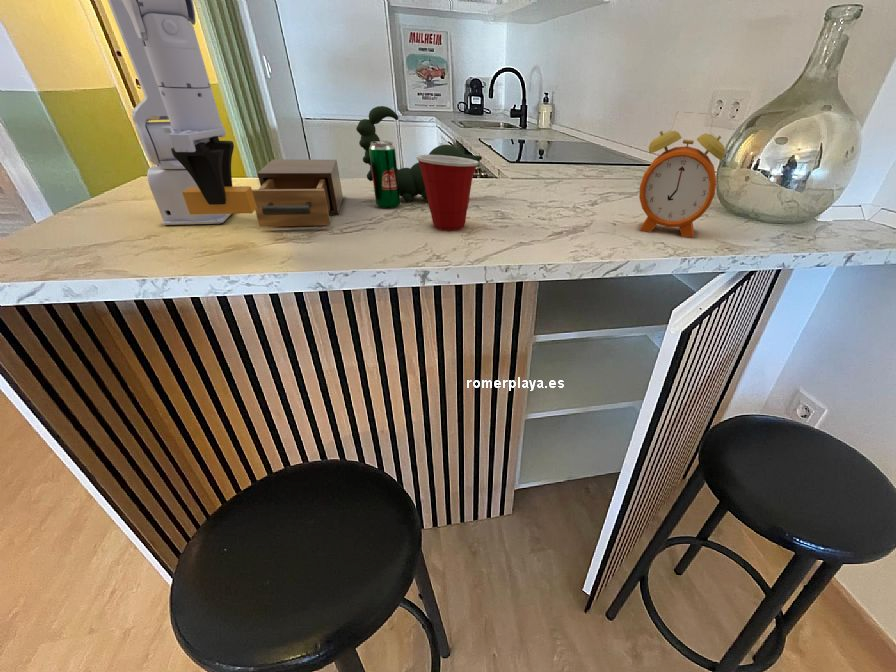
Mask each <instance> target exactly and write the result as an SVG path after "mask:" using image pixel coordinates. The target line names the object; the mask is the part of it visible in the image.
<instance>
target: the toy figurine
mask: <svg viewBox="0 0 896 672" xmlns="http://www.w3.org/2000/svg"><path fill="white" fill-rule="evenodd" d="M385 118H392V119H394V120H396V121H398V120H399V116H398V114H397V112H396V111H395V110H393V109H392V108H391V107H388V106H384V105H379V106H375V107H373V108H372V109H371V110H370V111H369V112H368V119H367V118H363V119H361V120H360V121H359V122H358V123H357V126H356V128H355V130H356V132H357V133H358V134H359V136H360V140H359V141H358V143H359V146H360V148H363V150H364V156H363V157H362V162H363V163H364V164H365V165H367V164H368V166H369V170H368V172H367V174H366V178H367V180H368V181H369V182H373V177H372V169H371V162H370V154H369V147H370V145H371V144H370V142H372V141H381V138H380V137H379V135H378V134H377V131H376V126H375V125H377V124H380V123H381V122H382V120H384V119H385ZM428 155H444V156H454V157H462V158H468V159H472V160H476V161H478V162H480V161H482V159H483V156H482V155H473V154H465V153H464V152H463V151H462V150H461V149H460V148H458V147H456V146H455V145H452V144H441V145H438V146H436V147H435V148H433V149H432V150H430V151H429V153H428ZM397 173H398V183H399V193H400V198H402V200H403V201H404V202H405V203H411V202H412V200H413V198H415V197H417V196H418V195H420V196H421V198H422V199H423V200H424V201H428V199H427V194H426V189H425V185H424V180H423V176H422V172H421V169H420V164H419V161H418V162H416V163H414V164H413V165H412V166H411V167H401V168H397Z"/></svg>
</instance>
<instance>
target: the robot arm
mask: <svg viewBox="0 0 896 672" xmlns="http://www.w3.org/2000/svg"><path fill="white" fill-rule="evenodd" d="M107 2H108V5H109V8H110V11H111V13H112V16H113V18H114V21H115V23H116V26H117V28H118V31H119V34H120V36H121V39H122V41H123V44H124V46H125V49H126V51H127V54H128V56H129V59H130V62H131V65H132V67H133V69H134V72H135V74H136V78H137V80H138V83H139V85H140V87H141V90H142V93H143V95H144V98H143V99H142V100H141V101H140V102H139V103H138V104H137V105H136V106H135V107H134V108H133V109H132V114H131V117H132V121H133V123H134V126H135V129H136V133H137V136H138V138H139V142H140V144H141V146H142V148H143V151H144V154H145V155H146V158H147V160H148V161H149V162H150V163H152V164H153V166H150V167H149V168H148V169H147V171H146V172H147V173H146V174H147V182H148V186H149V188H150V191H151V194H152V196H153V198H154V201H155V204H156V206H157V208H158V211H159V213H160V216H161V219H162V221H161V224H162V225H164V226H171V225H173V226H174V225H175V226H179V225H215V224H216V225H217V224H218V225H219V224H223V223H224V222H225V221H227V219H229V217H230V216H231V215H232V214H190V213H189V210H188V207H187V205H186V202H185V199H184V196H183V194H182V192H183V191H184V190H186V189H187V188H189V187H198V188H199V189H200V191H201V193H202V194H203V196H204V198H205V199H206V201H207V202H208V204H209V205H218V204H226V194H225V188H224V187H233V177H232V160H233V159H232V158H233V153H234V148H235V144H234V141H232V140H220V138H225V137H226V134H227V132H226V128H225V126H224V125H223V122H222V120H221V117H220V113H219V109H218V107H217V103H216V99H215V96H214V93H213V89H212V85H211V82H210V79H209V75H208V72H207V69H206V65H205V62H204V57H203V54H202V52H201V48H200V44H199V41H198V38H197V34H196V31H195V27H194V25H196V11H195V5H194V1H193V0H107Z"/></svg>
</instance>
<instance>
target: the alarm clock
mask: <svg viewBox="0 0 896 672" xmlns="http://www.w3.org/2000/svg"><path fill="white" fill-rule="evenodd" d="M687 113H688V114H693V111H692V112H690V111H685V114H687ZM677 114H678V112H676V113H675V116H674V120H673V121H675V120H676V117H677ZM699 114H703V115H707V113H704V112H699ZM711 115H712V116H713V117H712V118H714V116H715V115H714V113H711ZM713 121H714V119H712V120H711V123H713ZM674 123H675V122H673V124H672V126H671V129H668V130H667V131H665V132H663V130H660V131H659V136H657V137H655V138H654V139H652V141H651V142H650V143H649V146H648V154H649V155H650V154H653V153H656V152H658V151H661V150H663V149H664V151H663V152H662V153H661V154H659V155H658V156H657V157H655V158H654V160H653V161H652V162H651V164H650V165H649V166H648V168H647V169H646V170H645V172H644V174H643V176H642V179H641V181H640V185H639V197H638V198H639V202H640V206H641V209H642V211H643V212H644V214H645V215H646V216H647V217H646V218H645V220H644V221H643V223H642V225H641V226H640V229H639V231H641V232H647V233H651V232H652V231H653V230H654V229H655V227H656V226H657V225H659V226H663V227H666V228H679V232H680V234H681V237H682V238H683V237H684V238H690V239H694V235H695V233H694V232H695V229H694V223H693V222H695V221H696V220H698V219H699V218H700V217H702V216H703V215H704V214H705V212H706V211H707V210H708V209H709V207H710V206H711V205H712V202H713V199H714V197H715V195H716V188H717V175H716V171H715V166H714V164H713V162H712V160H711V159H710V158H709V156H708V154H709V153H710V154H711V155H712V156H713V157H714V158H716V159H717V160H719V161H722V160H723V159H724V157H725V155H726V147H725V145H724V144H723V143H722V142H721V141H720V140H721V138H722V136H721V135H718V136H715V135H714V134H713V133H712V132H711V131H712V129H710V131H709V132H710V133H707V132H706V133H703V134H700V135H699V136H698V137H697V138H696V141H697V142H698V143H699V145H700V146H702V147H703V148H704V149H705V152H704V151H702V150H700V149H699V148H695V147H692V146H689V145H693V144H695V140H693V139H683V140H682V144H685V146H675V147H672V148H670V149H668V147H669V146H671V145H673V144H674V143H676V142H679V140H681V139H682V138H683V137H682V136H681V134H680V132H678V131H677V130H673V127H674ZM712 126H713V124H711V127H710V128H712Z"/></svg>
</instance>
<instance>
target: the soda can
mask: <svg viewBox="0 0 896 672" xmlns="http://www.w3.org/2000/svg"><path fill="white" fill-rule="evenodd" d="M370 144H371V145H370V147H369V154H370V162H371V169H372V177H373V181H372V183H373V192H374V199H375V204H376V206H377V207H379V208H380V209H397V208H399V206H400V205H401V196H400V193H399V183H398V173H397V169H398V163H397V154H396V148H395V146H394V145H393V141H388V140H380V141H372V142H370Z"/></svg>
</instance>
